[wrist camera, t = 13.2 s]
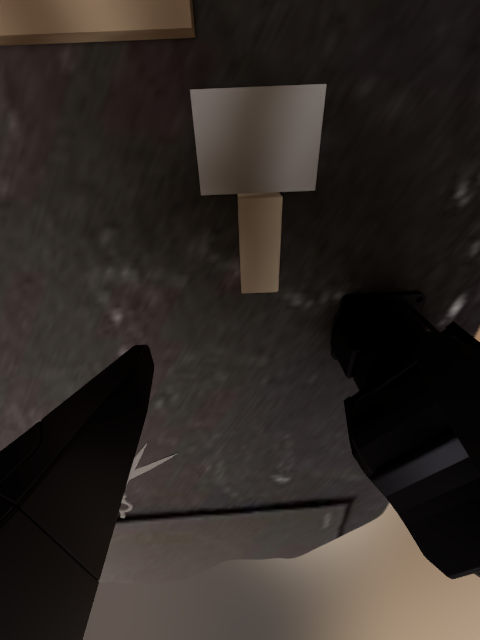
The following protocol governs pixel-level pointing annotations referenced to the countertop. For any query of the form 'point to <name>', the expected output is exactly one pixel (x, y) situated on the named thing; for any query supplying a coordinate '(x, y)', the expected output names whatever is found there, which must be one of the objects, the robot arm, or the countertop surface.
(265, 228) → the turner
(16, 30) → the oak board
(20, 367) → the countertop surface
